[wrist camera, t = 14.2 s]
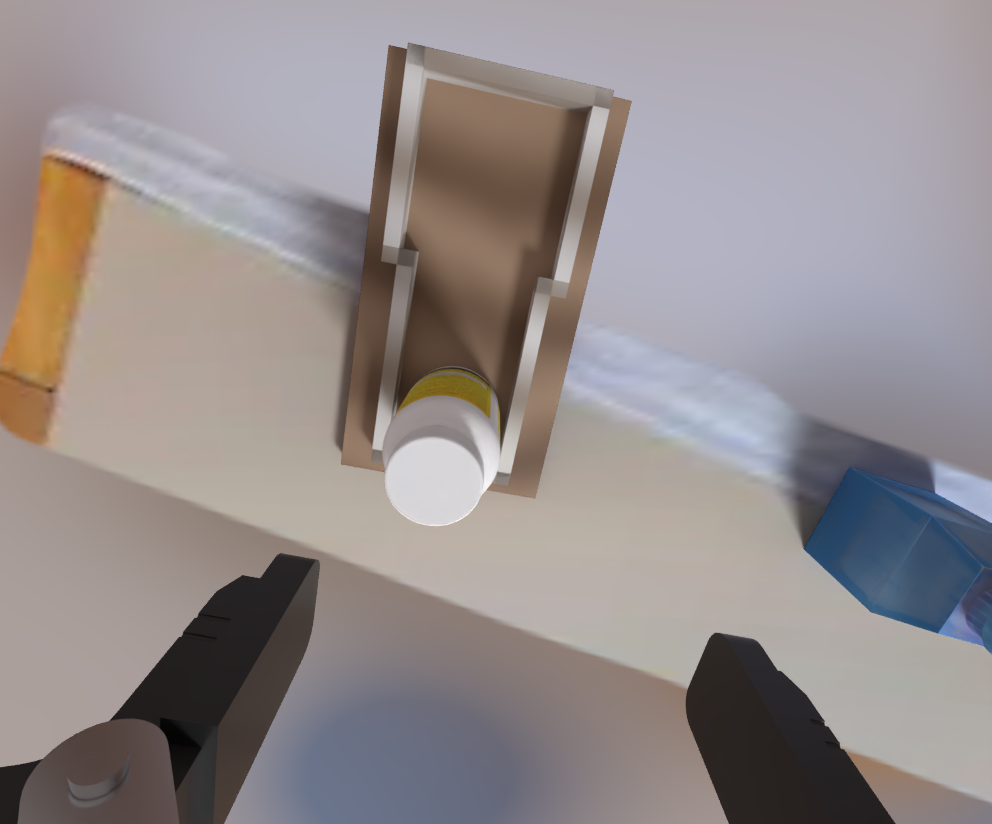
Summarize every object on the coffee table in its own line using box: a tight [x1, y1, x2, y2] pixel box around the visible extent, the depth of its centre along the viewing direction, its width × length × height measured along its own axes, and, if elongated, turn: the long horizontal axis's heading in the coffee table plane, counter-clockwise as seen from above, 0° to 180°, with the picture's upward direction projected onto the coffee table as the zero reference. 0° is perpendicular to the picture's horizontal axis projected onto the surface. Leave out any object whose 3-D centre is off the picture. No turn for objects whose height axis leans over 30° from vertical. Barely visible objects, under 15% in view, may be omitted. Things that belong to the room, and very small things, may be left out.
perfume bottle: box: [804, 467, 992, 654], centre depth 27 cm, size 6×6×12 cm
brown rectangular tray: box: [341, 43, 631, 498], centre depth 27 cm, size 22×12×2 cm, turn 169°
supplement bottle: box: [382, 366, 501, 526], centre depth 24 cm, size 5×5×10 cm
